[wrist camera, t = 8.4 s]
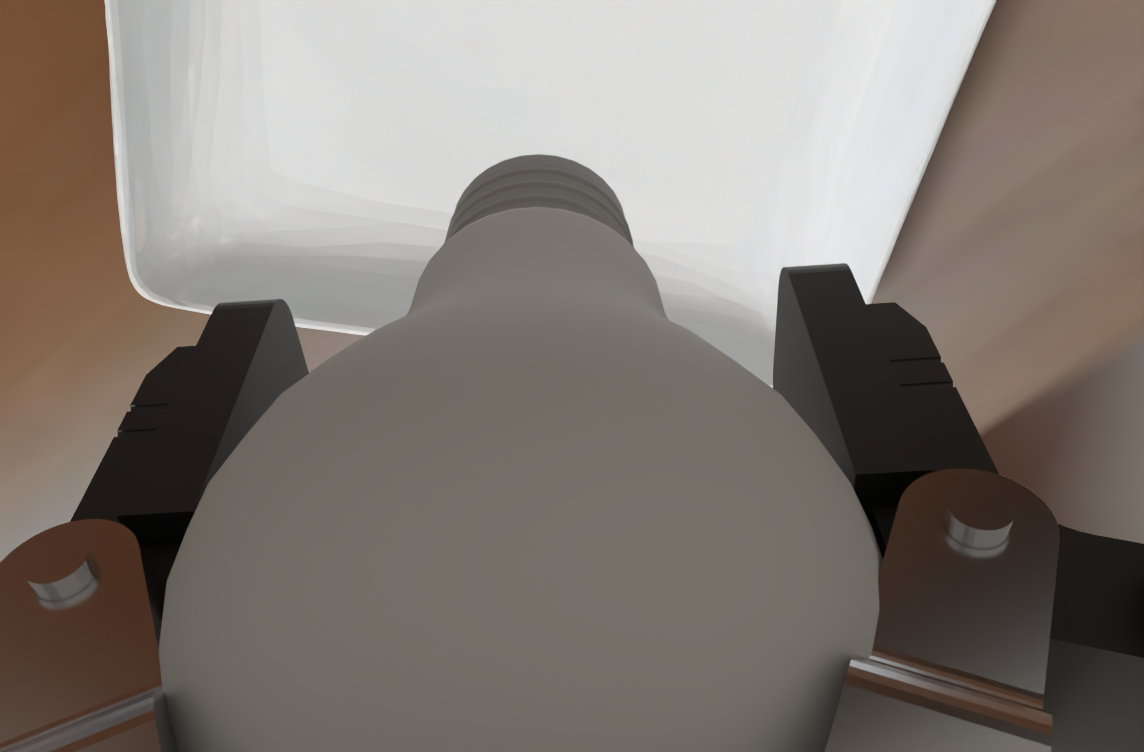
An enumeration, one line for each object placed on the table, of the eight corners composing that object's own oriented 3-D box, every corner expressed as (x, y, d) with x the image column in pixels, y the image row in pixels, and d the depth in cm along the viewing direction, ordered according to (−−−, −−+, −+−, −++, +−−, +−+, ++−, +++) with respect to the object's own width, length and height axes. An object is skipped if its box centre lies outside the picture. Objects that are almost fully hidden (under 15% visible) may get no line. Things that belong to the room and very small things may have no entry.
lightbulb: (349, -47, 13) (-63, 707, 4) (805, 50, 14) (1238, 843, 5) (318, 338, 17) (64, 1170, 8) (681, 396, 17) (813, 1203, 9)
